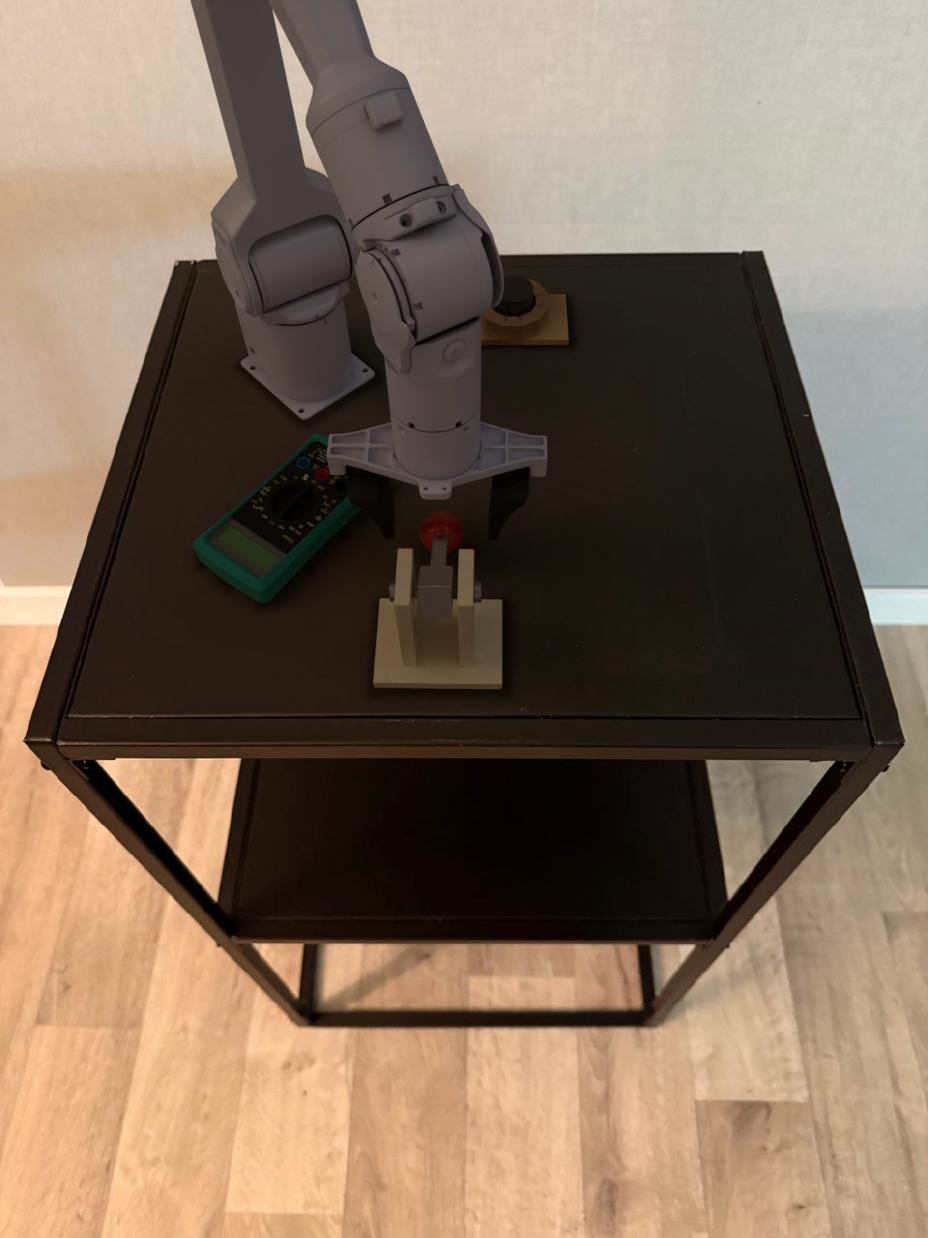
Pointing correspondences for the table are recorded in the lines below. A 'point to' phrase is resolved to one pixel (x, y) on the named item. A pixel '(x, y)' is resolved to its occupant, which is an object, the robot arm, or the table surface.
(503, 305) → the button
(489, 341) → the button block
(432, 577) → the switch lever
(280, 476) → the digital multimeter
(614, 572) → the table surface
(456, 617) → the switch bracket
